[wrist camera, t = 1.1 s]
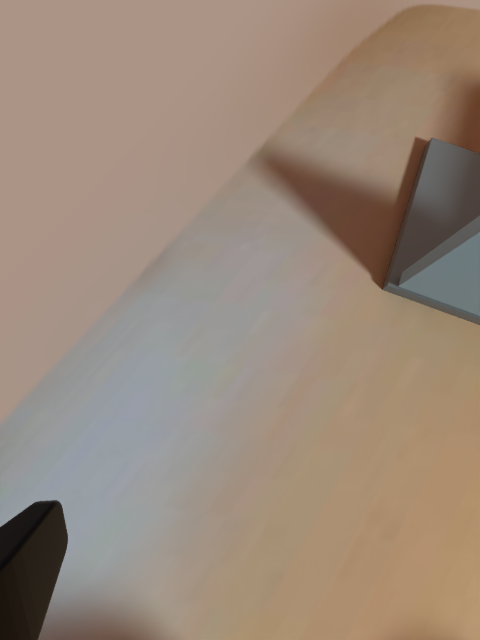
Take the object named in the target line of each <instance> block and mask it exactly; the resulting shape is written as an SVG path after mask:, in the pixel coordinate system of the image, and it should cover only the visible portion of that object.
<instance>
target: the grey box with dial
mask: <svg viewBox="0 0 480 640" xmlns="http://www.w3.org/2000/svg"><path fill="white" fill-rule="evenodd" d="M478 216H480V154H479V153H476V152H473V151H470V150H468V149H465V148H462V147H459V146H456V145H453V144H450V143H447V142H444V141H441V140H438V139H435V138H431V140H430V141H429V142H428V143H427V145H426V147H425V150H424V153H423V157H422V160H421V163H420V167H419V170H418V173H417V176H416V180H415V183H414V186H413V190H412V193H411V196H410V200H409V203H408V206H407V209H406V213H405V216H404V219H403V223H402V226H401V229H400V233H399V236H398V239H397V242H396V246H395V249H394V252H393V256H392V259H391V262H390V266H389V269H388V272H387V275H386V279H385V282H384V285H383V289H382V290H385V291H388V292H391V293H393V294H396V295H399V296H402V297H404V298H407V299H410V300H413V301H415V302H418V303H421V304H424V305H426V306H429V307H432V308H435V309H437V310H440V311H443V312H446V313H448V314H451V315H454V316H457V317H459V318H462V319H465V320H468V321H470V322H473V323H476V324H479V325H480V316H479V315H476V314H473V313H470V312H467V311H465V310H462V309H459V308H456V307H454V306H451V305H448V304H445V303H443V302H440V301H437V300H434V299H432V298H429V297H426V296H423V295H420V294H418V293H415V292H412V291H409V290H407V289H404V288H401V287H398V286H399V282H400V279H401V275H402V272H403V271H405V270H406V269H407V268H409V267H410V266H411V265H413V264H414V263H415V262H417V261H418V260H420V259H421V258H422V257H424V256H425V255H426V254H428V253H429V252H430V251H432V250H433V249H435V248H436V247H437V246H439V245H440V244H441V243H443V242H444V241H446V240H447V239H448V238H450V237H451V236H452V235H454V234H455V233H456V232H458V231H459V230H461V229H462V228H463V227H465V226H466V225H467V224H469V223H470V222H471V221H473V220H474V219H476V218H477V217H478Z"/></svg>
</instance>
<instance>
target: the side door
mask: <svg viewBox="0 0 480 640" xmlns="http://www.w3.org/2000/svg"><path fill="white" fill-rule="evenodd" d="M398 287H401V288H404V289H407V290H409V291H412V292H415V293H418V294H420V295H423V296H426V297H429V298H432V299H434V300H437V301H440V302H443V303H445V304H448V305H451V306H454V307H456V308H459V309H462V310H465V311H467V312H470V313H473V314H476V315H479V316H480V216H478V217H477V218H476V219H474V220H473V221H471V222H470V223H469V224H467V225H466V226H465V227H463V228H462V229H461V230H459V231H458V232H456V233H455V234H454V235H452V236H451V237H450V238H448V239H447V240H446V241H444V242H443V243H441V244H440V245H439V246H437V247H436V248H435V249H433V250H432V251H430V252H429V253H428V254H426V255H425V256H424V257H422V258H421V259H420V260H418V261H417V262H415V263H414V264H413V265H411V266H410V267H409V268H407V269H406V270H405V271H403V272H402V275H401V279H400V282H399V286H398Z"/></svg>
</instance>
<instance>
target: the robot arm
mask: <svg viewBox="0 0 480 640" xmlns="http://www.w3.org/2000/svg"><path fill="white" fill-rule="evenodd" d="M67 543H68V534H67V529H66V524H65V519H64V514H63V508H62V505H61V503H60V502H59V501H57V500H52V501H39V502H35V503H33V504H32V505H30V506H29V507H28V508H26V509H25V510H23V511H22V512H21V513H19V514H18V515H17V516H15V517H14V518H12V519H11V520H10V521H8V522H7V523H5V524H4V525H3V526H1V527H0V640H38V638H39V635H40V632H41V629H42V625H43V622H44V619H45V616H46V613H47V610H48V606H49V603H50V600H51V597H52V594H53V591H54V587H55V584H56V581H57V578H58V575H59V572H60V568H61V565H62V562H63V559H64V556H65V553H66V549H67Z"/></svg>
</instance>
